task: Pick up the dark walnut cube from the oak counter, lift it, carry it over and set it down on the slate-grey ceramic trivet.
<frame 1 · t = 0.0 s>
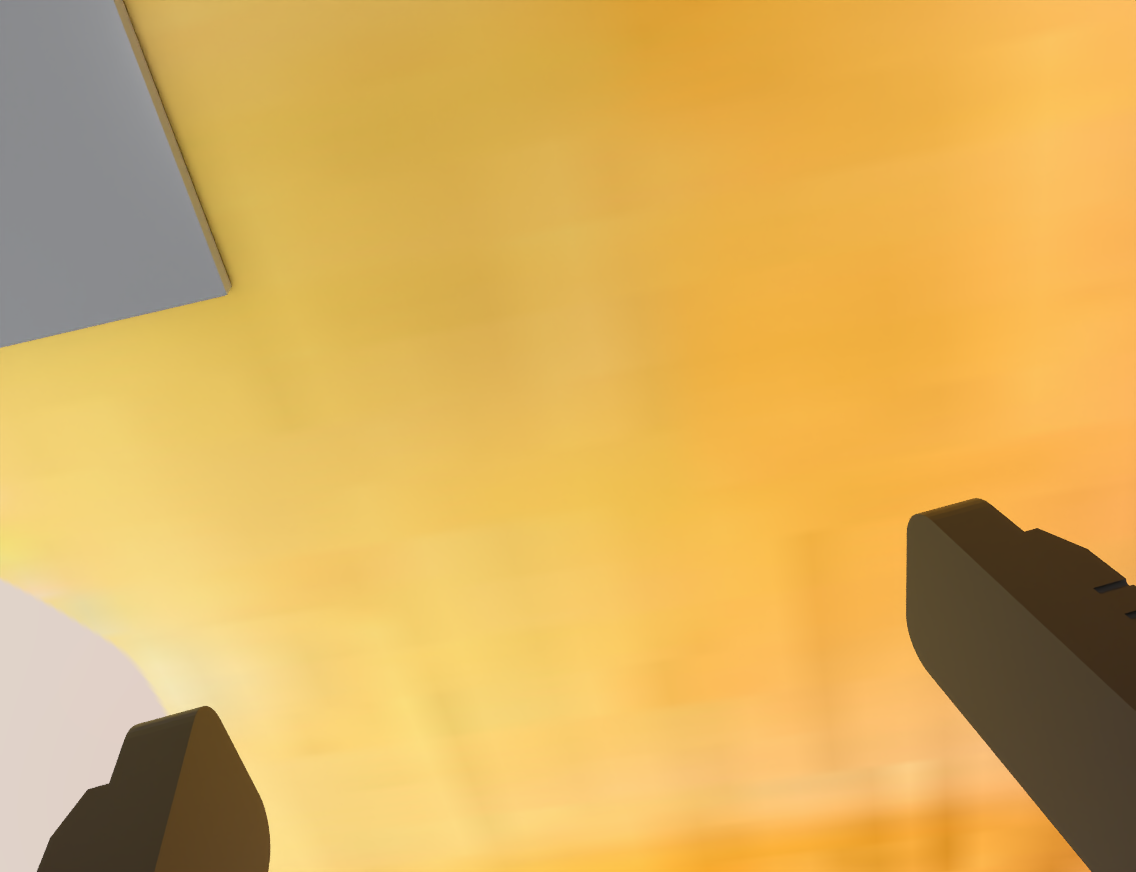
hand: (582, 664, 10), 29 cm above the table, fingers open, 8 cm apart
trivet: (12, 171, 32), on the table
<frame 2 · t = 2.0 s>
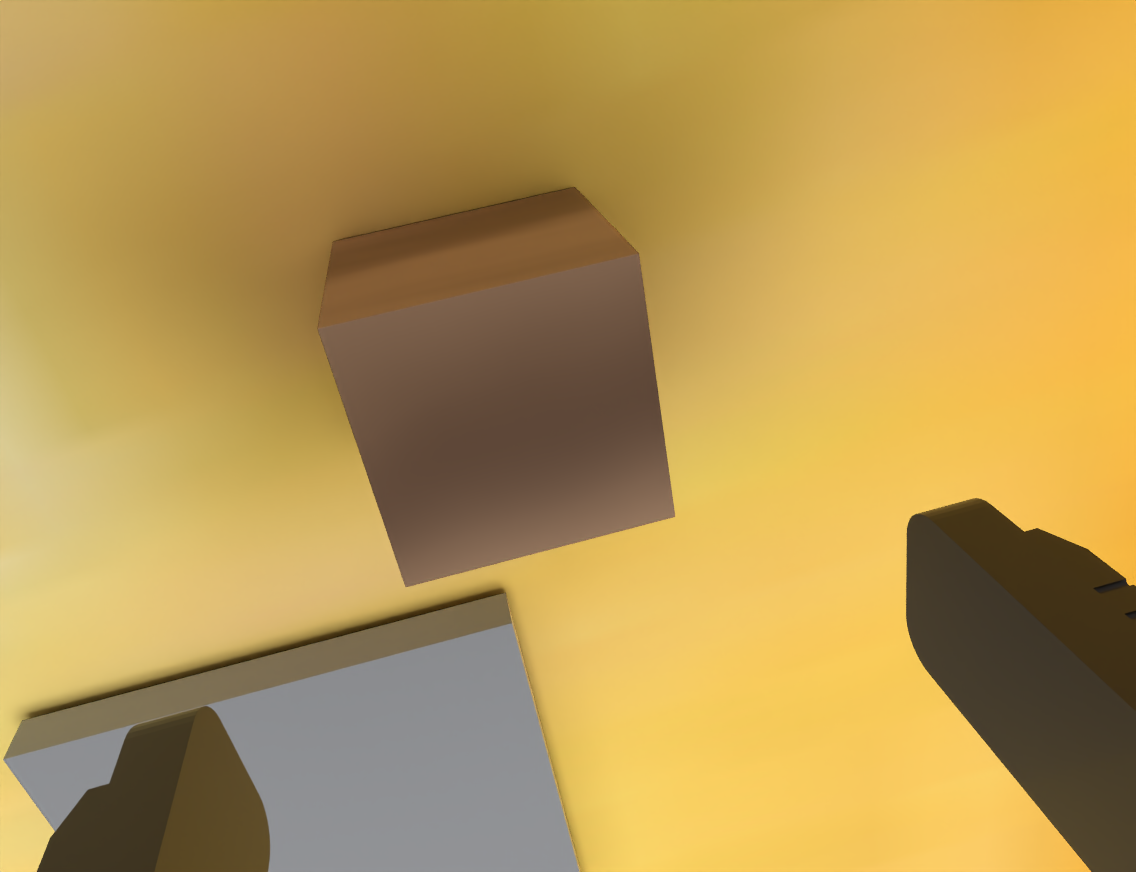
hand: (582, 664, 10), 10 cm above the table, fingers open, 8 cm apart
walnut cube: (482, 327, 19), on the table
trivet: (342, 812, 24), on the table
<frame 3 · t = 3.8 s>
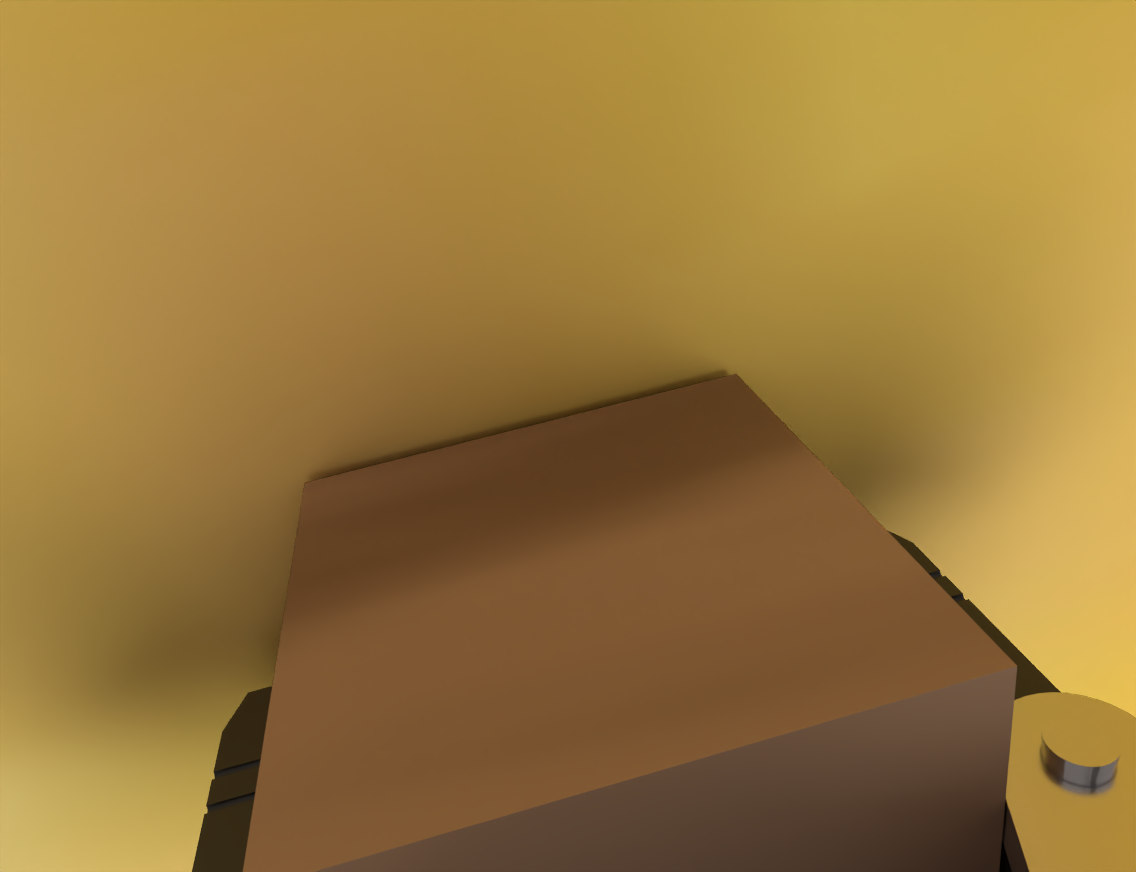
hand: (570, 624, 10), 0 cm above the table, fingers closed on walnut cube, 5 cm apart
walnut cube: (565, 599, 11), on the table, touching gripper
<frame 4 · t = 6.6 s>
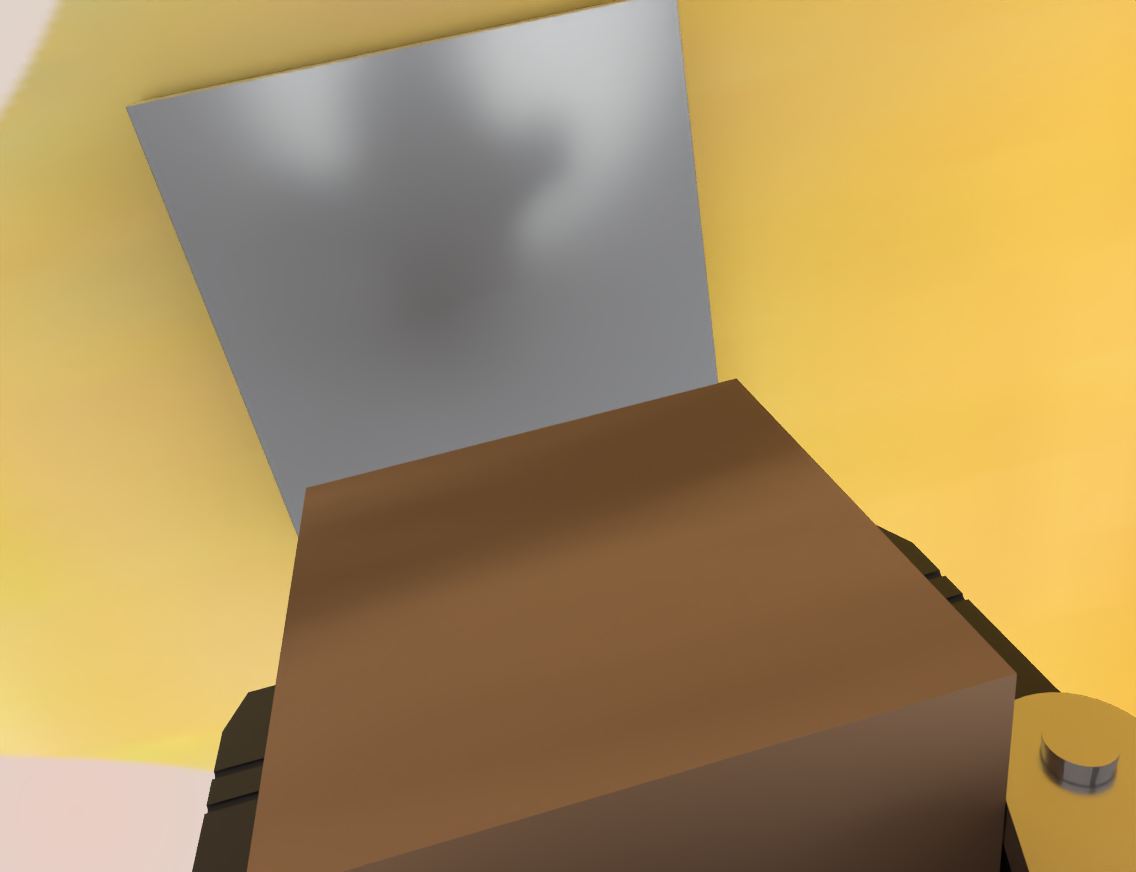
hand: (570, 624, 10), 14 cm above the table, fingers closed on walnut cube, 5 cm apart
walnut cube: (565, 603, 11), point 13 cm above the table, touching gripper
trivet: (468, 294, 22), on the table
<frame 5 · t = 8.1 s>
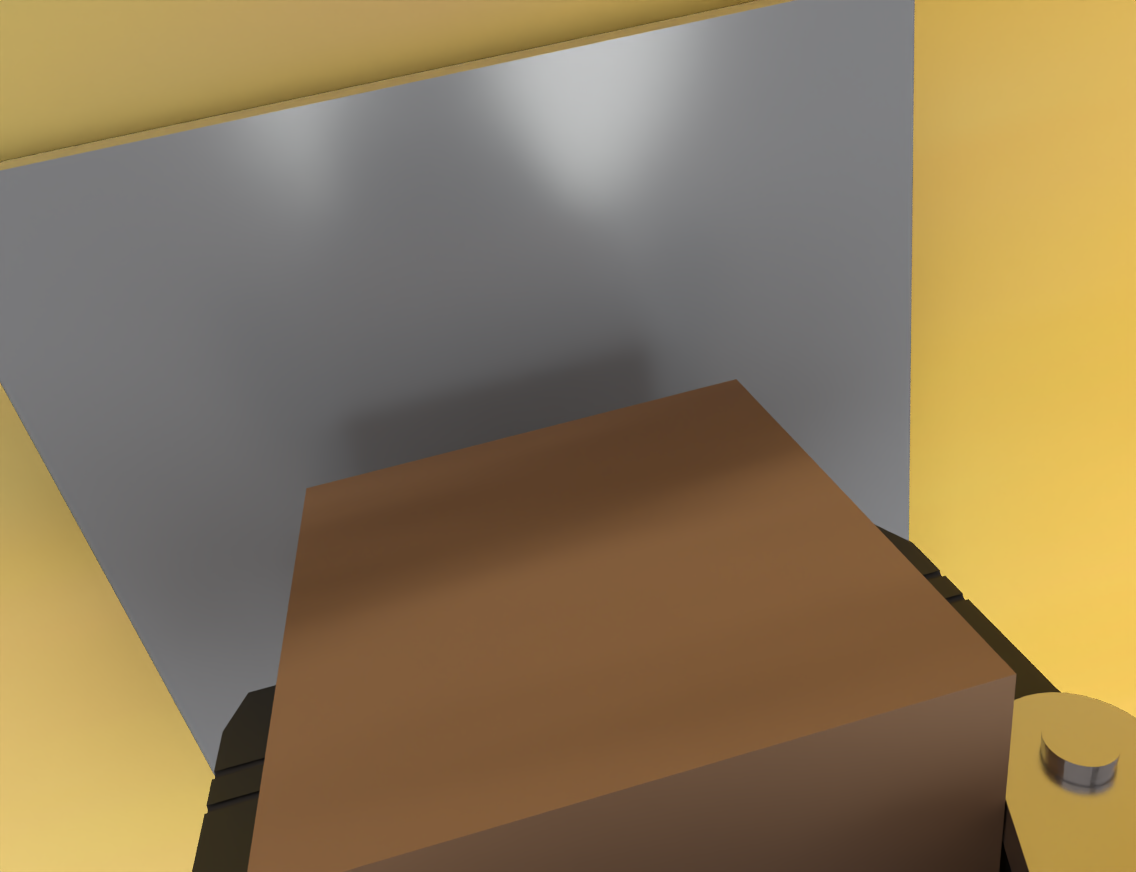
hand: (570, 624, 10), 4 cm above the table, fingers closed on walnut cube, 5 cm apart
walnut cube: (566, 603, 11), point 3 cm above the table, touching gripper
trivet: (522, 467, 14), on the table
when the fingers open (3 cm above the table, at t = 9.2 s): walnut cube drops 1 cm, resting on trivet.
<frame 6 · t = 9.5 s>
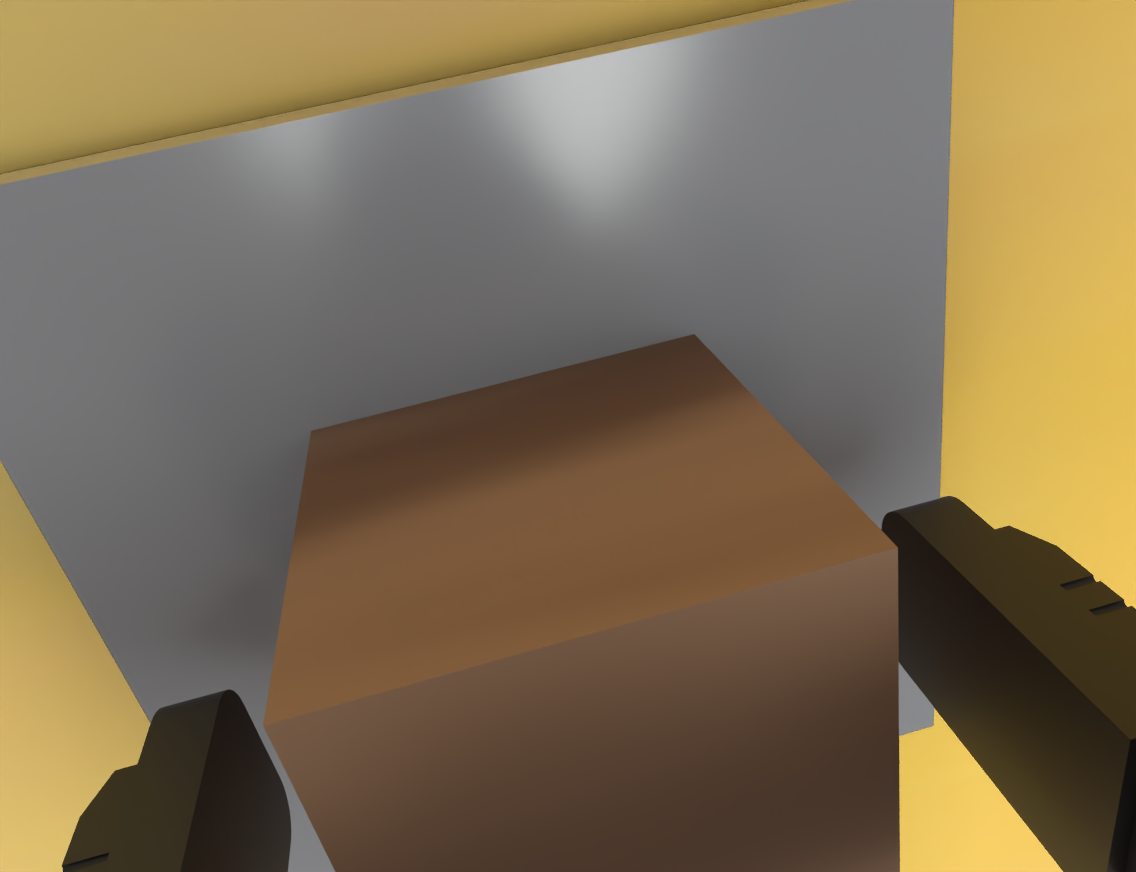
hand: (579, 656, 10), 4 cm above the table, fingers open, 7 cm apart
walnut cube: (545, 540, 12), point 1 cm above the table, touching trivet
trivet: (531, 497, 13), on the table
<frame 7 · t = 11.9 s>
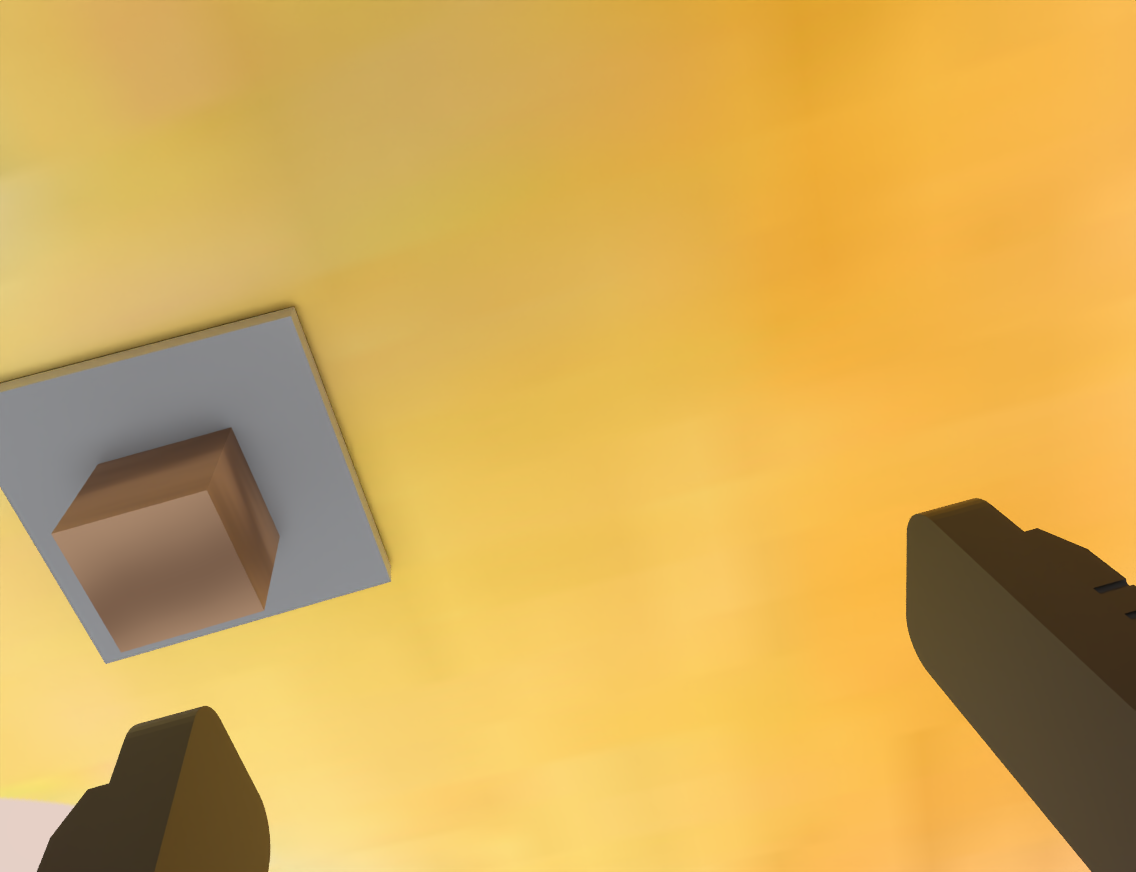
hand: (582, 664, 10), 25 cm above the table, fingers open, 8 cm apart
walnut cube: (192, 501, 33), point 1 cm above the table, touching trivet
trivet: (198, 487, 34), on the table
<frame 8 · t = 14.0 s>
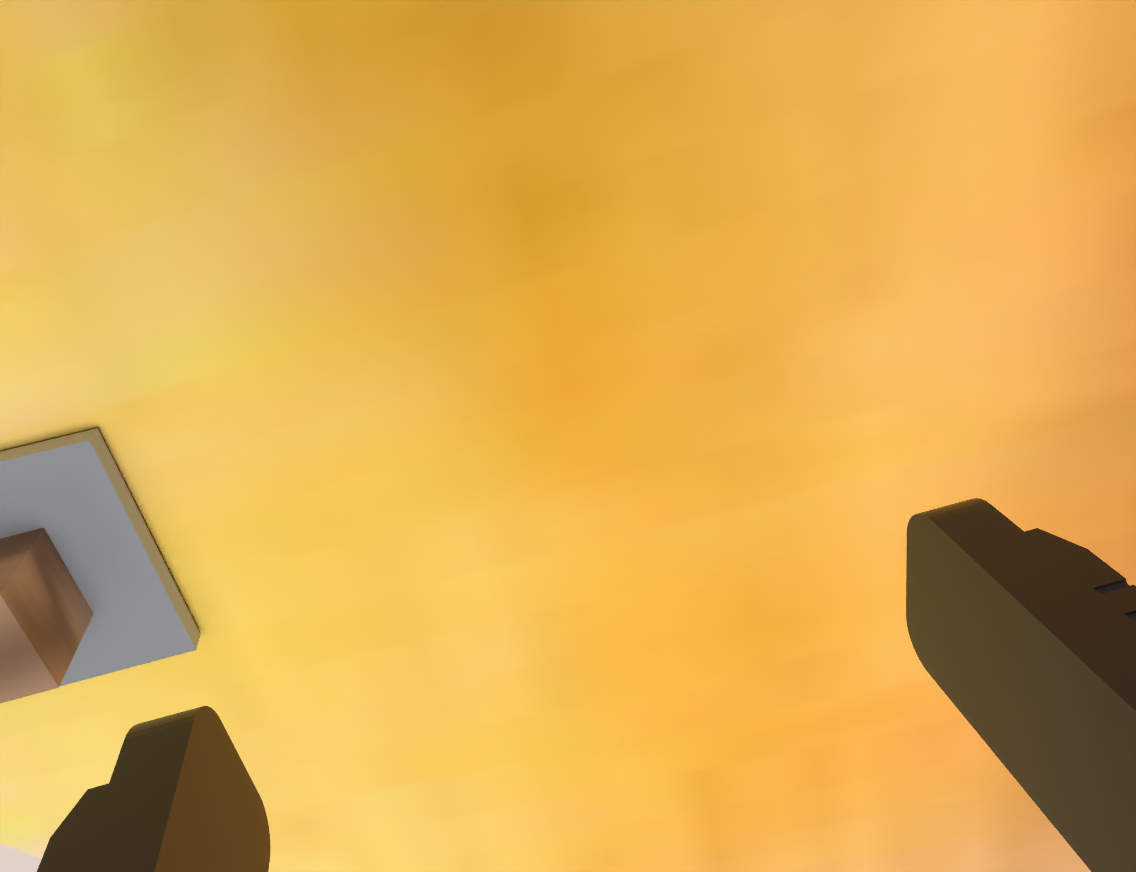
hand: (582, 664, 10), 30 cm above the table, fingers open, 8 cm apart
walnut cube: (13, 586, 39), point 1 cm above the table, touching trivet
trivet: (23, 571, 40), on the table
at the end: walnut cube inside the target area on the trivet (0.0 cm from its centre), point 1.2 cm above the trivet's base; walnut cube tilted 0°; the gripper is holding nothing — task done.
